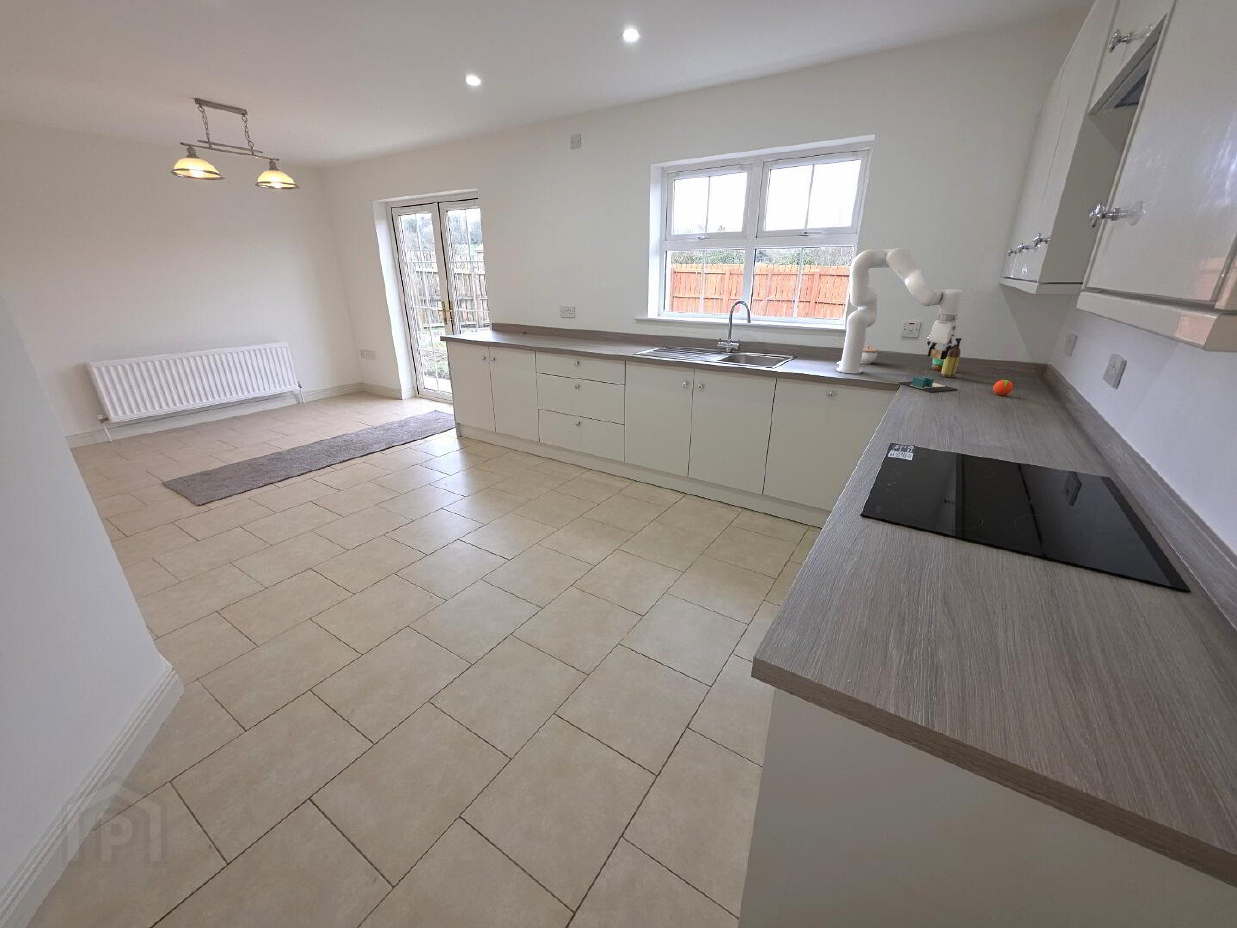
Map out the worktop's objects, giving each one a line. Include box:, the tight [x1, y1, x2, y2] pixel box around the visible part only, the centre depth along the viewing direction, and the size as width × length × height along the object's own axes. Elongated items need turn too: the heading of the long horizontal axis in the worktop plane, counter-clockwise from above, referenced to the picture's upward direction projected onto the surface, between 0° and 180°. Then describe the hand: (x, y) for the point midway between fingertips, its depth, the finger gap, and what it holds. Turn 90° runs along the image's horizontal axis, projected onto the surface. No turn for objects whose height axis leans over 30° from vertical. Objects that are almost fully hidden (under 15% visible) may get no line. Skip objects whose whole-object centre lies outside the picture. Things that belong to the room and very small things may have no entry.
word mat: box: [898, 380, 958, 394], centre depth 230 cm, size 18×16×1 cm
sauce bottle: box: [940, 336, 962, 379], centre depth 246 cm, size 7×6×20 cm
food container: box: [931, 358, 944, 372], centre depth 262 cm, size 12×6×10 cm, turn 25°
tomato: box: [992, 379, 1014, 396], centre depth 215 cm, size 8×7×7 cm
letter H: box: [911, 375, 935, 388], centre depth 228 cm, size 6×6×4 cm
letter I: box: [929, 348, 944, 360], centre depth 228 cm, size 6×2×4 cm, turn 18°
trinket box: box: [860, 345, 879, 365], centre depth 280 cm, size 11×11×9 cm
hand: (936, 357), depth 228 cm, fingers closed on letter I, 6 cm apart
